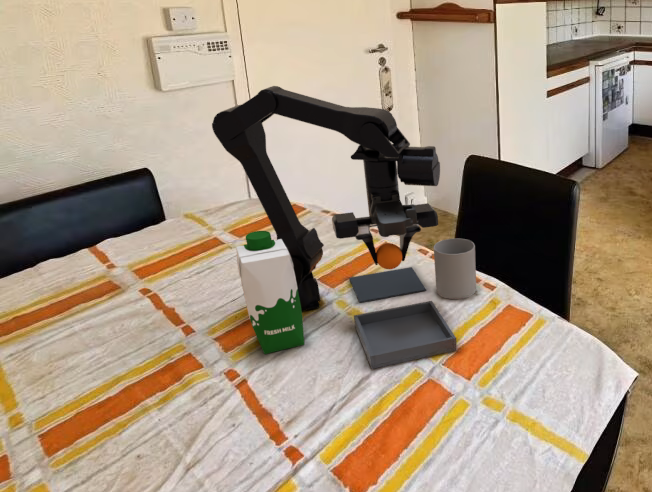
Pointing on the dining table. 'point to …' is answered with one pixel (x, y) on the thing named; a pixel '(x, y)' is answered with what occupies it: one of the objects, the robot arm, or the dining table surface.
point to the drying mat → (386, 284)
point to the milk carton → (270, 292)
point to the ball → (389, 256)
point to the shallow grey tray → (404, 334)
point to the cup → (455, 268)
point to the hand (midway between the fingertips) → (389, 262)
